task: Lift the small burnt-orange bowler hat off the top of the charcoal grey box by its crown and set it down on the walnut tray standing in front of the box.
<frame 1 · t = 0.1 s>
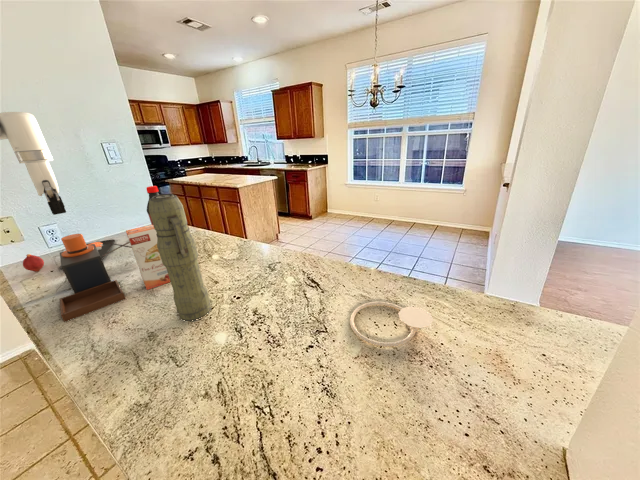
hand: (59, 210, 87), 28 cm above the worktop, tool pointing down, fingers open, 9 cm apart
cola bottle: (171, 252, 119), on the worktop
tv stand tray: (94, 301, 86), on the worktop
hat: (78, 251, 94), point 12 cm above the worktop, touching charcoal grey box
hand towel holder: (389, 325, 69), on the worktop
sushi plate: (112, 252, 123), on the worktop
thermos: (196, 312, 78), on the worktop
charcoal grey box: (92, 283, 97), on the worktop
cracker box: (167, 280, 96), on the worktop
onion: (38, 271, 108), on the worktop
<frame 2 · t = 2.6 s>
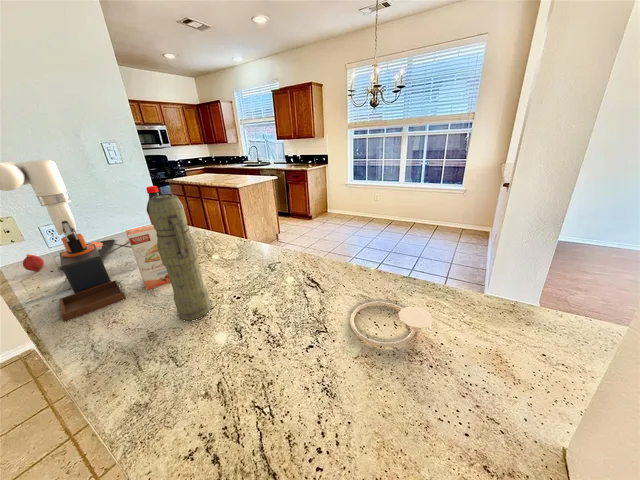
hand: (77, 248, 94), 13 cm above the worktop, tool pointing down, fingers closed on hat, 5 cm apart
hat: (78, 251, 94), point 12 cm above the worktop, touching gripper, charcoal grey box
everything else where it was.
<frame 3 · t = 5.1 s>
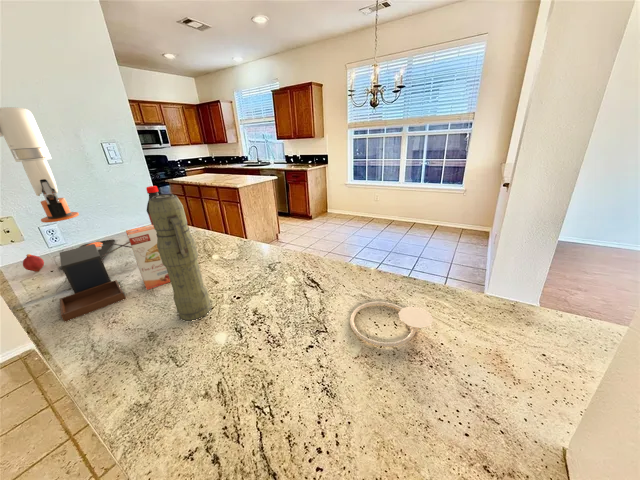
hand: (59, 213, 84), 28 cm above the worktop, tool pointing down, fingers closed on hat, 5 cm apart
hat: (60, 217, 84), point 26 cm above the worktop, touching gripper
everything else where it was.
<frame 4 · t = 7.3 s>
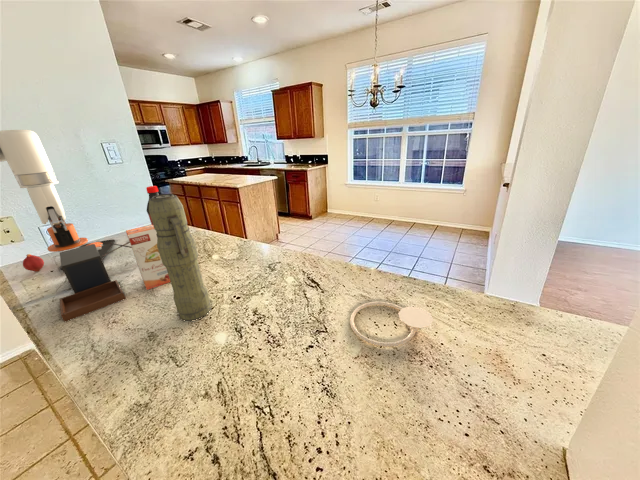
hand: (66, 241, 77), 22 cm above the worktop, tool pointing down, fingers closed on hat, 5 cm apart
hat: (68, 245, 78), point 20 cm above the worktop, touching gripper
everything else where it was.
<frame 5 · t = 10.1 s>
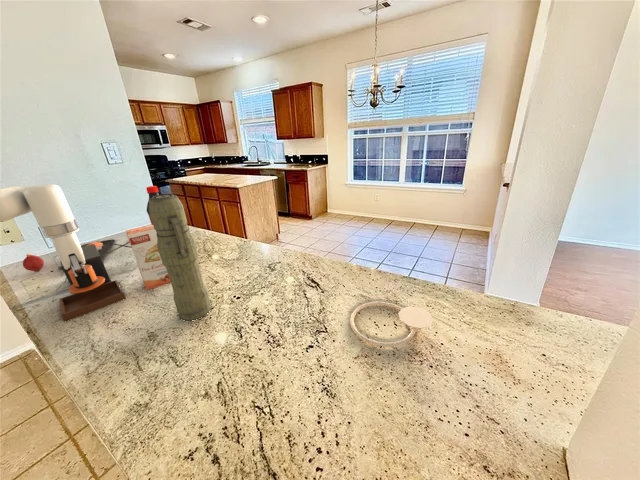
hand: (85, 281, 83), 8 cm above the worktop, tool pointing down, fingers closed on hat, 5 cm apart
hat: (87, 285, 83), point 6 cm above the worktop, touching gripper
everything else where it was.
when the fingers open (2 cm above the worktop, at t = 12.0 s): hat stays where it is, resting on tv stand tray.
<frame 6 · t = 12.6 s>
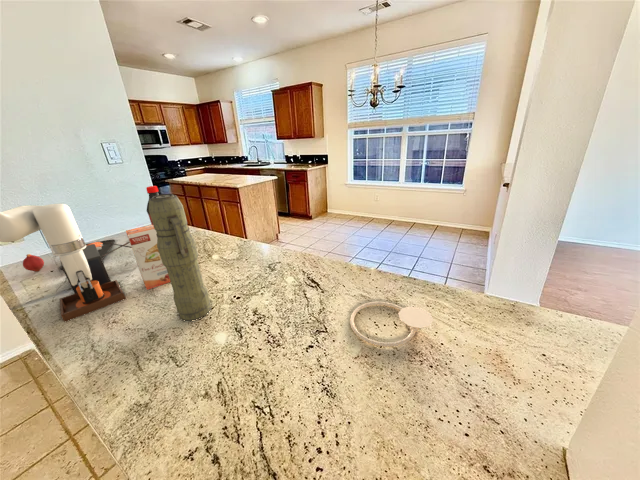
hand: (90, 294, 85), 3 cm above the worktop, tool pointing down, fingers open, 9 cm apart
hat: (94, 300, 86), resting on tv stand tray
everything else where it was.
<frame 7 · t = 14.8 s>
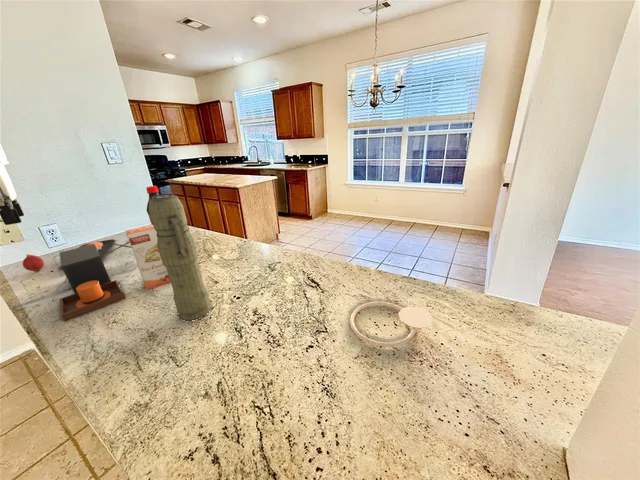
hand: (15, 220, 77), 28 cm above the worktop, tool pointing down, fingers open, 9 cm apart
nothing on the worktop moved.
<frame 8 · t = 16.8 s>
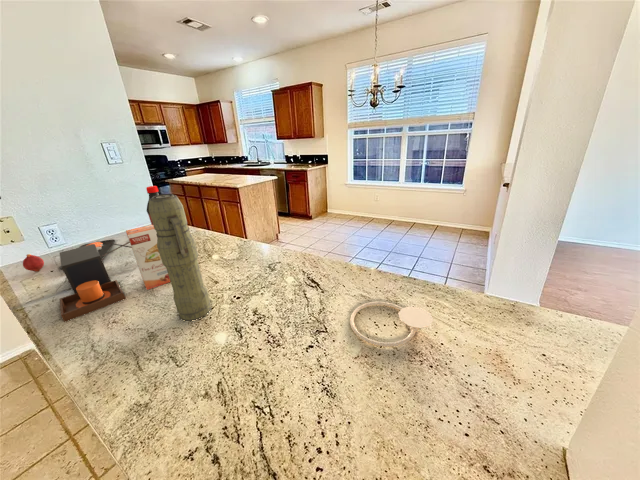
nothing on the worktop moved.
at the end: hat inside the target area in the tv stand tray (0.1 cm from its centre), point 0.5 cm above the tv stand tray's base; hat tilted 0°; the gripper is holding nothing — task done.
